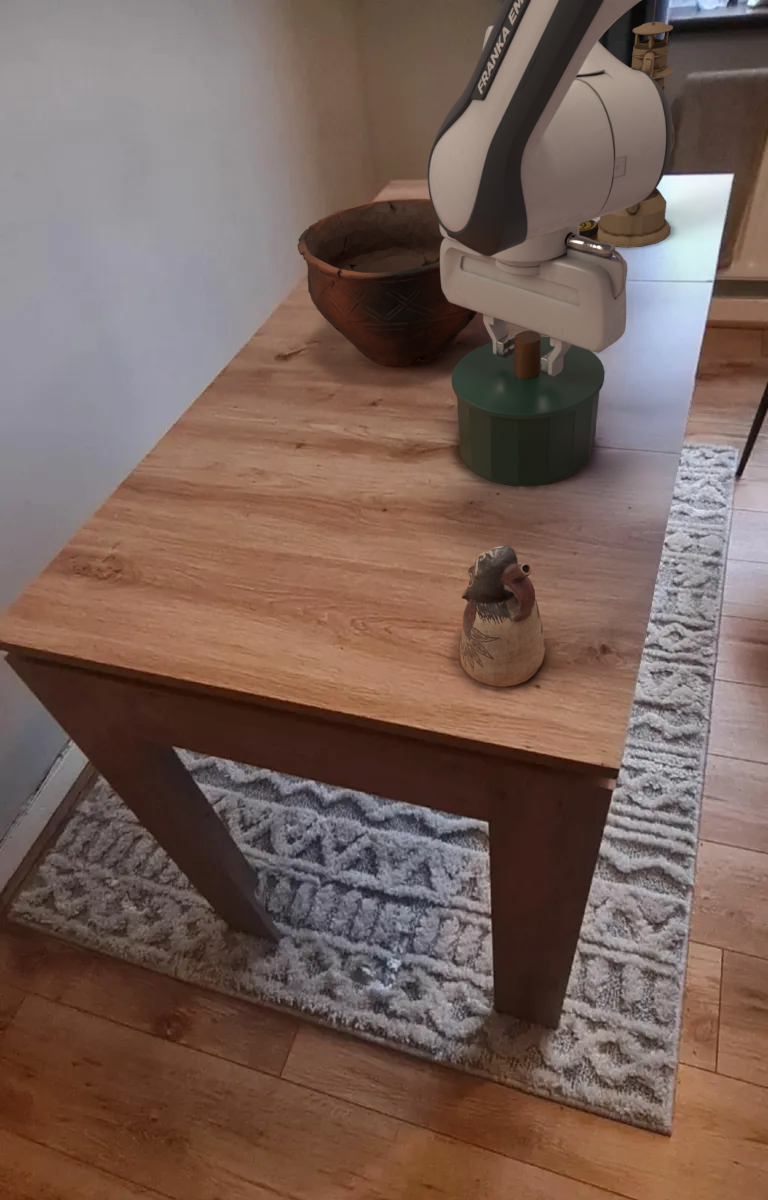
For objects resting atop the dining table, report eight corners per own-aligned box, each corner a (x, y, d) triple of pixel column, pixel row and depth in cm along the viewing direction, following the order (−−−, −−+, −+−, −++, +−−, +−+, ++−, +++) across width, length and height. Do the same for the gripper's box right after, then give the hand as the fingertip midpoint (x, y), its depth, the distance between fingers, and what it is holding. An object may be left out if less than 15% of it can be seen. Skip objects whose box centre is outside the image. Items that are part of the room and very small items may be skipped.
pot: (619, 438, 88) (628, 369, 82) (535, 504, 82) (537, 434, 76) (517, 396, 96) (517, 330, 90) (433, 453, 90) (427, 386, 84)
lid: (634, 374, 82) (640, 326, 79) (538, 443, 76) (539, 395, 72) (517, 332, 91) (517, 288, 87) (421, 391, 84) (417, 346, 81)
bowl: (513, 302, 113) (513, 189, 103) (480, 395, 97) (476, 273, 86) (347, 299, 120) (332, 193, 109) (291, 386, 104) (266, 271, 93)
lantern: (596, 213, 132) (613, -11, 111) (671, 212, 129) (703, -18, 108) (587, 250, 123) (605, 12, 101) (668, 250, 120) (704, 5, 98)
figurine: (504, 613, 71) (504, 509, 63) (562, 658, 67) (570, 553, 59) (443, 653, 69) (434, 550, 60) (498, 703, 65) (497, 600, 56)
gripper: (650, 235, 67) (632, 381, 77) (470, 192, 79) (474, 324, 89) (605, 262, 65) (592, 409, 74) (425, 214, 76) (435, 347, 86)
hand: (527, 363), depth 82 cm, fingers open, 5 cm apart
